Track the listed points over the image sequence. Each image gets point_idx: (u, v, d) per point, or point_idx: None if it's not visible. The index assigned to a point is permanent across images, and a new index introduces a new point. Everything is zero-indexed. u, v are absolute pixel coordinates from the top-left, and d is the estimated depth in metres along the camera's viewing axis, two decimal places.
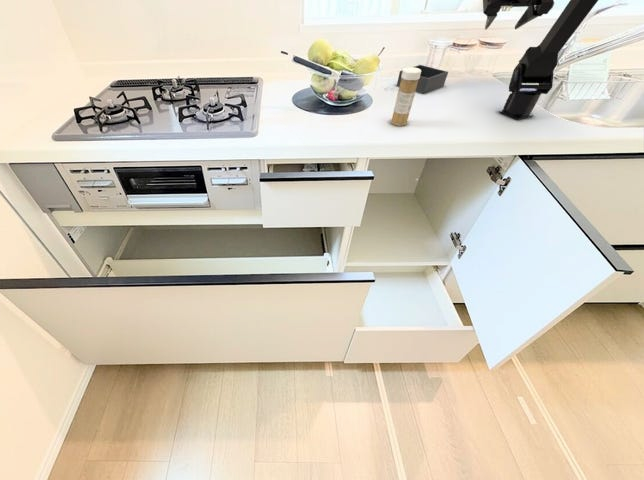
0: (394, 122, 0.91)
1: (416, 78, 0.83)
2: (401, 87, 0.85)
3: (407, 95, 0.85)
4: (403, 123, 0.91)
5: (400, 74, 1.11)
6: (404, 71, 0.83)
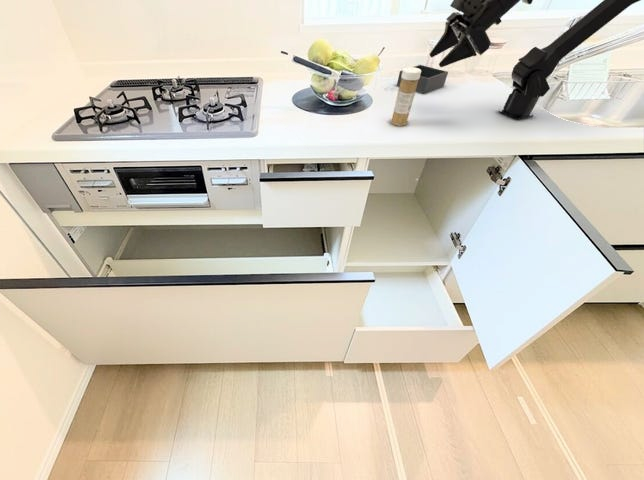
0: (394, 122, 0.91)
1: (416, 78, 0.83)
2: (401, 87, 0.85)
3: (407, 95, 0.85)
4: (403, 123, 0.91)
5: (400, 74, 1.11)
6: (404, 71, 0.83)
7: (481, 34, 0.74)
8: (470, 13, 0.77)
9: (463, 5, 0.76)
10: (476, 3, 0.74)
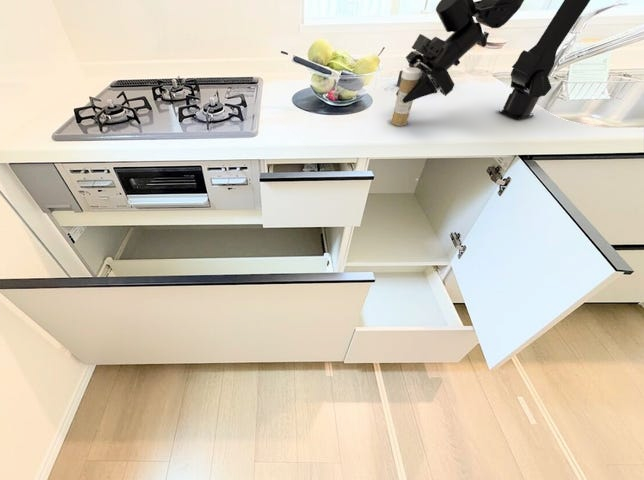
0: (394, 122, 0.91)
1: (416, 78, 0.83)
2: (401, 87, 0.85)
3: None
4: (403, 123, 0.91)
5: (400, 74, 1.11)
6: (404, 71, 0.83)
7: (446, 77, 0.76)
8: (432, 56, 0.79)
9: (426, 49, 0.77)
10: (438, 48, 0.76)
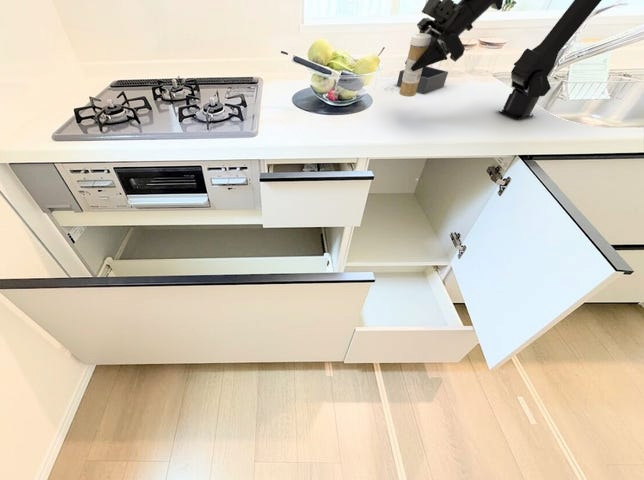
0: (402, 93, 0.88)
1: (425, 44, 0.79)
2: (410, 54, 0.82)
3: None
4: (411, 94, 0.88)
5: (400, 74, 1.11)
6: (413, 37, 0.80)
7: (455, 40, 0.73)
8: (442, 19, 0.76)
9: (435, 11, 0.74)
10: (448, 9, 0.73)
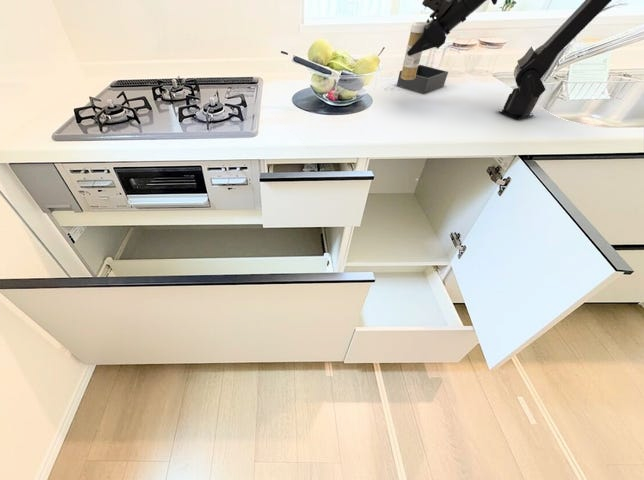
0: (401, 76, 0.98)
1: (420, 31, 0.88)
2: (409, 40, 0.92)
3: None
4: (408, 77, 0.97)
5: (400, 74, 1.11)
6: (412, 24, 0.89)
7: (435, 28, 0.82)
8: (436, 9, 0.84)
9: (428, 1, 0.83)
10: (438, 0, 0.81)
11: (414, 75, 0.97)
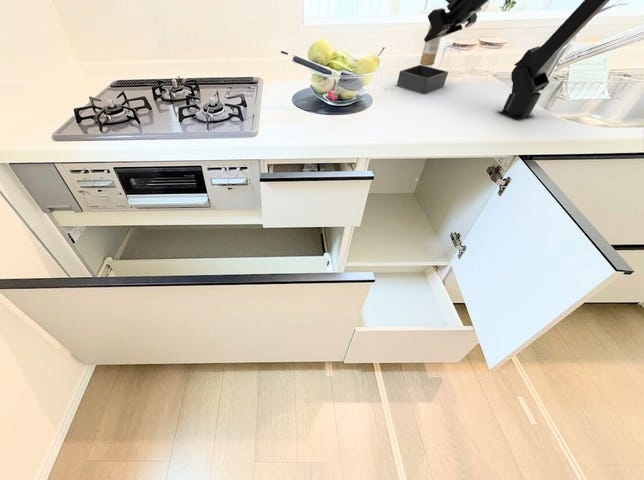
0: (420, 61, 1.08)
1: None
2: None
3: None
4: (424, 63, 1.06)
5: (400, 74, 1.11)
6: None
7: (434, 16, 0.92)
8: (449, 0, 0.93)
9: None
10: None
11: (430, 61, 1.06)
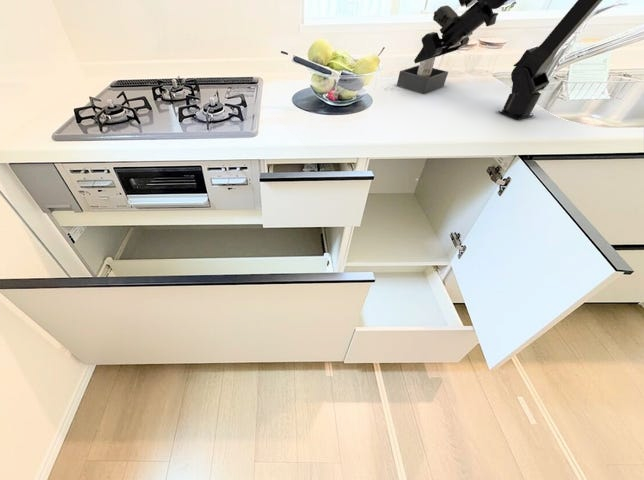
0: None
1: None
2: None
3: None
4: None
5: (400, 74, 1.11)
6: None
7: (428, 40, 0.96)
8: (441, 24, 0.97)
9: None
10: (440, 16, 0.95)
11: None
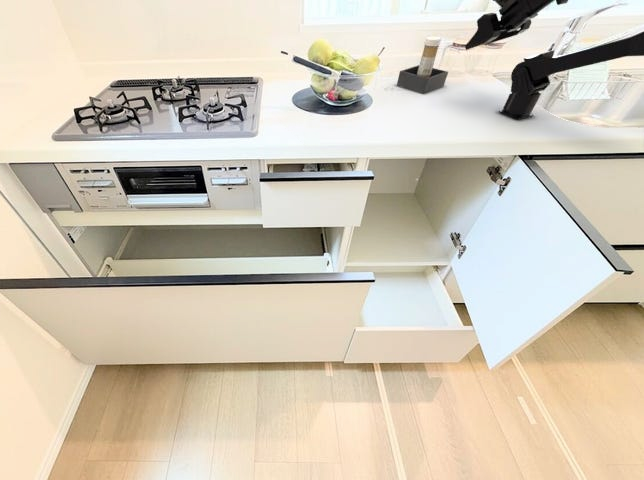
0: None
1: (430, 44, 1.03)
2: None
3: (422, 58, 1.06)
4: None
5: (400, 74, 1.11)
6: None
7: (485, 22, 0.84)
8: (501, 4, 0.85)
9: None
10: None
11: None
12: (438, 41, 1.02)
